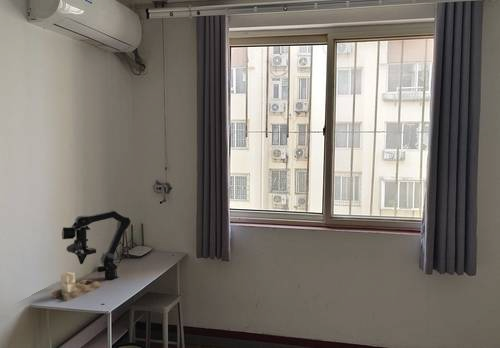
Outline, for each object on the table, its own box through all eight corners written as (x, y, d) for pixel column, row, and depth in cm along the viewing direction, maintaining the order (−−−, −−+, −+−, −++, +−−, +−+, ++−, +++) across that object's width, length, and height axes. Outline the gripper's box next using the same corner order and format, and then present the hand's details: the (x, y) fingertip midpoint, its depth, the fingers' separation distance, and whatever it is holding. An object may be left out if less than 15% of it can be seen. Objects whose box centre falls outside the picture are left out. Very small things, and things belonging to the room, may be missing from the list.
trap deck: (85, 284, 249) (85, 279, 249) (100, 287, 243) (99, 282, 243) (52, 297, 230) (51, 292, 230) (67, 300, 224) (66, 295, 224)
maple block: (70, 287, 235) (68, 272, 235) (76, 289, 233) (74, 273, 232) (62, 290, 231) (60, 274, 230) (68, 292, 229) (66, 275, 228)
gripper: (58, 238, 244) (58, 265, 245) (81, 241, 236) (81, 269, 236) (74, 235, 254) (74, 260, 255) (96, 238, 246) (96, 265, 246)
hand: (81, 264), depth 248 cm, fingers closed
